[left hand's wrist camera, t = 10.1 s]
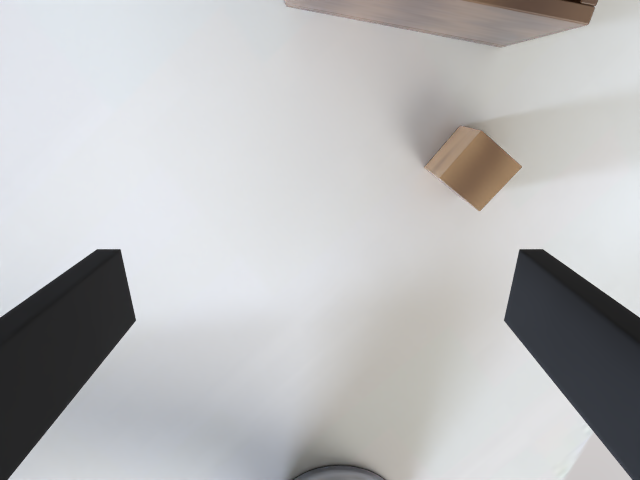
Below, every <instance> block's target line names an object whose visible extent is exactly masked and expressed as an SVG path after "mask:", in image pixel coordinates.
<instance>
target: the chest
mask: <svg viewBox="0 0 640 480" xmlns="http://www.w3.org/2000/svg"><path fill="white" fill-rule="evenodd" d="M597 2H598V0H285V4H286V6H287V7H293V8H298V9H303V10H308V11H314V12H319V13H324V14H329V15H334V16H340V17H345V18H350V19H355V20H361V21H366V22H371V23H376V24H381V25H387V26H392V27H397V28H402V29H407V30H413V31H418V32H423V33H428V34H434V35H439V36H444V37H449V38H454V39H460V40H465V41H470V42H475V43H481V44H486V45H491V46H496V47H505V46H508V45H511V44H515V43H519V42H523V41H527V40H531V39H535V38H539V37H543V36H546V35H550V34H554V33H558V32H562V31H566V30H570V29H574V28H578V27H582V26H585V25H588V24H589V22H590V20H591V17H592V14H593V12H594V9H595V7H594V6H596V4H597Z"/></svg>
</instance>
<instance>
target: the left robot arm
mask: <svg viewBox="0 0 640 480" xmlns="http://www.w3.org/2000/svg"><path fill="white" fill-rule="evenodd" d="M135 321H136V319H135V314H134V309H133V305H132V300H131V296H130V291H129V286H128V282H127V277H126V273H125V268H124V263H123V259H122V254H121V250H120V249H97V250H96V251H94V252H93V253H91V254H90V255H88V256H87V257H86V258H84V259H83V260H81V261H80V262H79V263H77V264H76V265H74V266H73V267H71V268H70V269H69V270H67V271H66V272H64V273H63V274H62V275H60V276H59V277H57V278H56V279H54V280H53V281H52V282H50V283H49V284H47V285H46V286H45V287H43V288H42V289H40V290H39V291H37V292H36V293H35V294H33V295H32V296H30V297H29V298H28V299H26V300H25V301H23V302H22V303H20V304H19V305H18V306H16V307H15V308H13V309H12V310H10V311H9V312H8V313H6V314H5V315H3V316H2V317H1V318H0V480H8V478H9V477H10V476H11V475H12V474H13V472H14V471H15V470H16V469H17V467H18V466H19V465H20V464H21V462H22V461H23V460H24V459H25V457H26V456H27V455H28V454H29V452H30V451H31V450H32V449H33V447H34V446H35V445H36V444H37V443H38V441H39V440H40V439H41V438H42V436H43V435H44V434H45V433H46V431H47V430H48V429H49V428H50V426H51V425H52V424H53V423H54V421H55V420H56V419H57V418H58V416H59V415H60V414H61V413H62V412H63V410H64V409H65V408H66V407H67V405H68V404H69V403H70V402H71V400H72V399H73V398H74V397H75V395H76V394H77V393H78V392H79V390H80V389H81V388H82V387H83V385H84V384H85V383H86V382H87V381H88V379H89V378H90V377H91V376H92V374H93V373H94V372H95V371H96V369H97V368H98V367H99V366H100V364H101V363H102V362H103V361H104V359H105V358H106V357H107V356H108V354H109V353H110V352H111V351H112V350H113V348H114V347H115V346H116V345H117V343H118V342H119V341H120V340H121V338H122V337H123V336H124V335H125V333H126V332H127V331H128V330H129V328H130V327H131V326H132V325H133V323H134V322H135ZM504 321H505V322H506V323H507V325H508V326H509V327H510V328H511V330H512V331H513V332H514V333H515V335H516V336H517V337H518V338H519V340H520V341H521V342H522V343H523V345H524V346H525V347H526V348H527V350H528V351H529V352H530V353H531V354H532V356H533V357H534V358H535V359H536V361H537V362H538V363H539V364H540V366H541V367H542V368H543V369H544V371H545V372H546V373H547V374H548V376H549V377H550V378H551V379H552V381H553V382H554V383H555V384H556V385H557V387H558V388H559V389H560V390H561V392H562V393H563V394H564V395H565V397H566V398H567V399H568V400H569V402H570V403H571V404H572V405H573V407H574V408H575V409H576V410H577V412H578V413H579V414H580V415H581V416H582V418H583V419H584V420H585V421H586V423H587V424H588V425H589V426H590V428H591V429H592V430H593V431H594V433H595V434H596V435H597V436H598V438H599V439H600V440H601V441H602V442H603V444H604V445H605V446H606V447H607V449H608V450H609V451H610V452H611V454H612V455H613V456H614V457H615V459H616V460H617V461H618V462H619V463H620V465H621V466H622V467H623V468H624V470H625V471H626V472H627V473H628V475H629V476H630V477H631V478H632V480H640V318H639V317H638V316H637V315H635V314H634V313H632V312H631V311H630V310H628V309H627V308H625V307H624V306H622V305H621V304H620V303H618V302H617V301H615V300H614V299H612V298H611V297H610V296H608V295H607V294H605V293H604V292H603V291H601V290H600V289H598V288H597V287H595V286H594V285H593V284H591V283H590V282H588V281H587V280H586V279H584V278H583V277H581V276H580V275H578V274H577V273H576V272H574V271H573V270H571V269H570V268H569V267H567V266H566V265H564V264H563V263H561V262H560V261H559V260H557V259H556V258H554V257H553V256H552V255H550V254H549V253H547V252H546V251H544V250H543V249H520V250H519V254H518V259H517V263H516V268H515V273H514V277H513V282H512V286H511V291H510V296H509V300H508V305H507V309H506V314H505V319H504ZM294 480H384V479H383V478H382V477H380V476H378V475H377V474H375V473H373V472H370V471H368V470H365V469H362V468H357V467H351V466H327V467H322V468H317V469H314V470H311V471H308V472H306V473H304V474H302V475H300V476H298V477H297V478H295V479H294Z"/></svg>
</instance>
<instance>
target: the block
mask: <svg viewBox="0 0 640 480" xmlns="http://www.w3.org/2000/svg"><path fill="white" fill-rule="evenodd" d="M424 168H425V169H427V170H428V171H429V172H430V173H431V174H433V175H434V176H435V177H436V178H438V179H439V180H440V181H441V182H442V183H444V184H445V185H446V186H447V187H448V188H450V189H451V190H452V191H453V192H455V193H456V194H457V195H458V196H459V197H461V198H462V199H463V200H465V201H466V202H467V203H469V204H470V205H471V206H473V207H474V208H476V209H477V210H478V211H480V210H481V209H482V208H483V207H484V206H485V205H486V204H487V203H488V202H489V201H490V200H491V199H492V198H493V197H494V196H495V195H496V194H497V193H498V192H499V191H500V190H501V188H502V187H503V186H504V185H505V184H506V183H507V182H508V181H509V180H510V179H511V178H512V177H513V176H514V175H515V174H516V173H517V172H518V171H519V170H520V169H521V168H522V166H521V165H520V164H518V163H517V162H516V161H515V160H514V159H513V158H512V157H511V156H510V155H508V154H507V153H506V152H505V151H504V150H503V149H502V148H501V147H500V146H498V145H497V144H496V143H495V142H494V141H493V140H492V139H491V138H489V137H488V136H487V135H486V134H485V133H484V132H483V131H481V130H477V129H473V128H468V127H464V126H459V128H458V129H457V130H456V131H455V132H454V133H453V135H452V136H451V137H450V138H449V139H448V140H447V142H446V143H445V144H444V145H443V146H442V147H441V149H440V150H439V151H438V152H437V153H436V154H435V155H434V157H433V158H432V159H431V160H430V161H429V162H428V164H427V165H426V166H425V167H424Z"/></svg>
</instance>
